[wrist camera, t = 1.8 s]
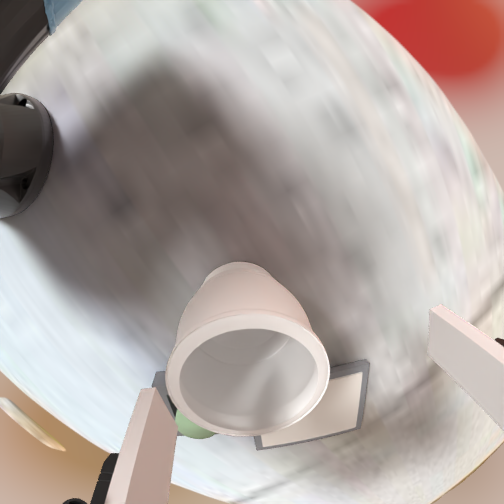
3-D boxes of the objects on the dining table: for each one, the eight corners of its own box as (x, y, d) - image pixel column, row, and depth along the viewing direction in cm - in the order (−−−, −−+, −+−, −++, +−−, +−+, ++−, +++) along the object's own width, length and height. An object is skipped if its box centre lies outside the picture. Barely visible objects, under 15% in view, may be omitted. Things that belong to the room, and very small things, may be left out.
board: (255, 444, 38) (256, 451, 36) (244, 382, 34) (244, 390, 33) (357, 423, 38) (361, 429, 37) (365, 359, 35) (370, 365, 34)
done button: (183, 421, 33) (181, 439, 30) (173, 394, 32) (169, 412, 28) (221, 419, 33) (221, 437, 30) (214, 391, 32) (213, 409, 29)
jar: (195, 342, 33) (180, 440, 18) (185, 254, 30) (150, 318, 16) (288, 335, 33) (324, 428, 19) (287, 248, 31) (338, 305, 16)
